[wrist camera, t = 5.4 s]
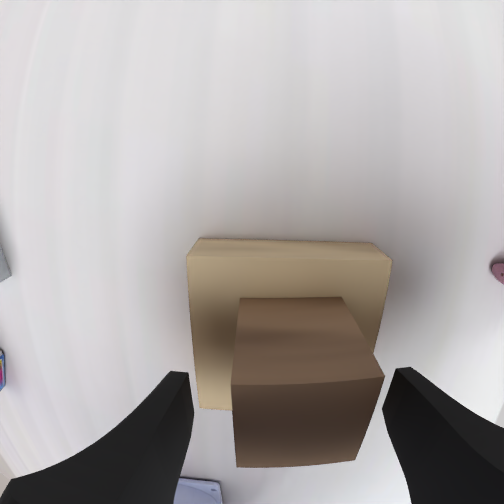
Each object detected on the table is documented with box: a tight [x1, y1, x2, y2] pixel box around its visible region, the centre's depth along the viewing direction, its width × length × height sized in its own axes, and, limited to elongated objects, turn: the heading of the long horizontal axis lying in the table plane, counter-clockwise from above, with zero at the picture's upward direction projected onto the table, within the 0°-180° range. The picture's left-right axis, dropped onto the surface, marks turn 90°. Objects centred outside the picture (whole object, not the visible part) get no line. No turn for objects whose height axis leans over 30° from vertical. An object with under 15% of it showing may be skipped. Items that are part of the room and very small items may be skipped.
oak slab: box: [186, 238, 392, 410], centre depth 14 cm, size 8×8×3 cm
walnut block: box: [231, 297, 385, 468], centre depth 10 cm, size 4×4×5 cm
